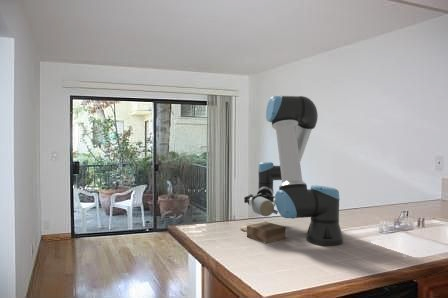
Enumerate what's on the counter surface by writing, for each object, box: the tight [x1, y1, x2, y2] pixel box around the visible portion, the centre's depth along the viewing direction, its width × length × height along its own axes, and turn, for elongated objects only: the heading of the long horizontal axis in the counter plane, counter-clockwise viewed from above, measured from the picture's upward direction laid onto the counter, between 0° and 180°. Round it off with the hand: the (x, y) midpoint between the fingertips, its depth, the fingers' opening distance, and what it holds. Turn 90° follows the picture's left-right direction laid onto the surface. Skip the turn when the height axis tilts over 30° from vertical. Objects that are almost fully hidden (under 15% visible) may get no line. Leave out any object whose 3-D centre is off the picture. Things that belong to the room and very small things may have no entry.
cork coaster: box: [240, 225, 248, 232], centre depth 174 cm, size 9×9×1 cm
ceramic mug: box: [251, 197, 279, 217], centre depth 160 cm, size 11×8×8 cm
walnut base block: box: [246, 221, 287, 244], centre depth 159 cm, size 12×12×5 cm
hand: (262, 203), depth 155 cm, fingers closed on ceramic mug, 10 cm apart
